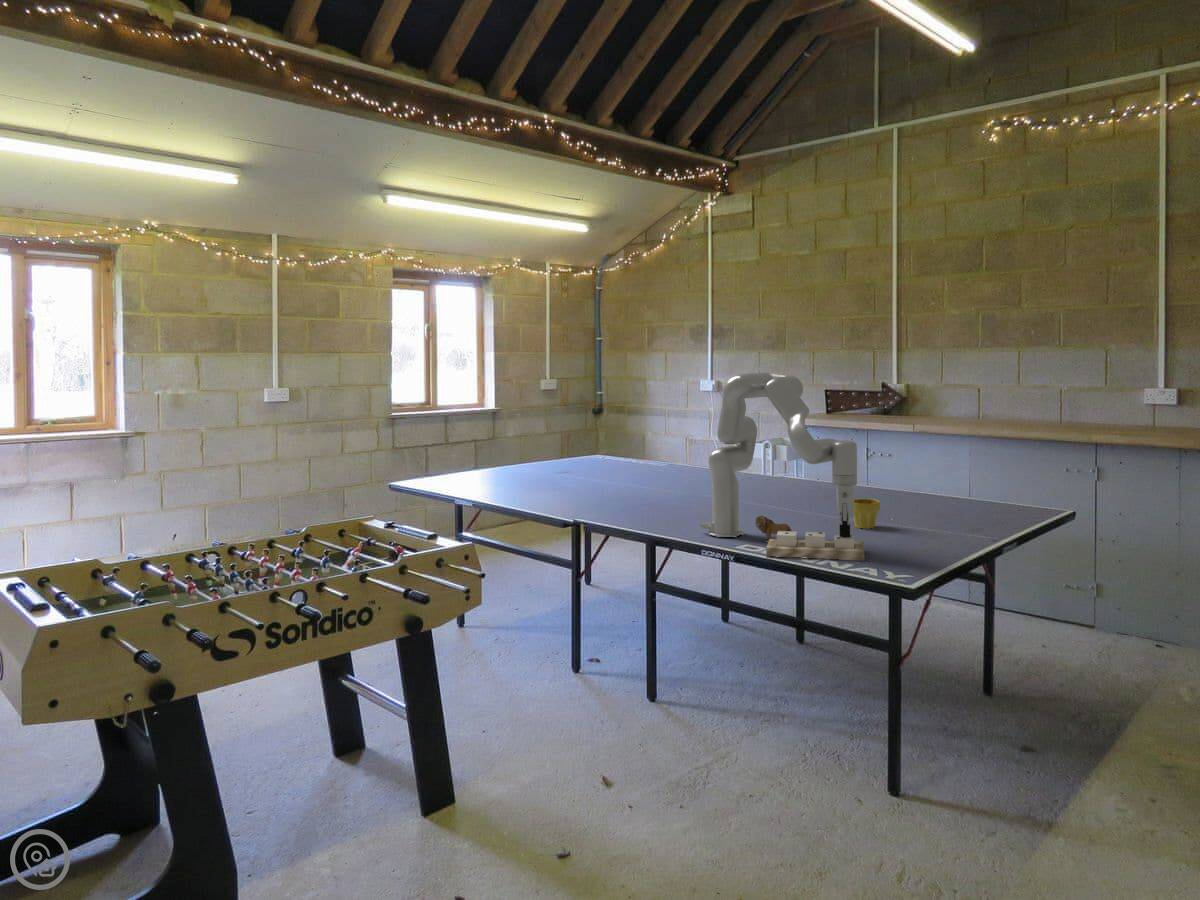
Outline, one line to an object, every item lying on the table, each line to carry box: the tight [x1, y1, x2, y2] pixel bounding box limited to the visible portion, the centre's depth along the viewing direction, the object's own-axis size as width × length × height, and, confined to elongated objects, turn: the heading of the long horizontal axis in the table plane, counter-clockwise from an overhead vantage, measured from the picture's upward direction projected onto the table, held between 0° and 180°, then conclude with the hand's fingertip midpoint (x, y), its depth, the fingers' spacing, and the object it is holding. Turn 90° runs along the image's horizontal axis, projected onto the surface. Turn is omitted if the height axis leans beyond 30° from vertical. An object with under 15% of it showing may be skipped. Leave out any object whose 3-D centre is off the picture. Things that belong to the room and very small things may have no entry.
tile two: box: [804, 531, 826, 548], centre depth 278 cm, size 6×6×4 cm
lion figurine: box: [754, 515, 793, 541], centre depth 296 cm, size 15×5×9 cm, turn 65°
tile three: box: [833, 534, 855, 549], centre depth 276 cm, size 6×6×4 cm
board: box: [765, 538, 865, 562], centre depth 279 cm, size 30×13×3 cm, turn 74°
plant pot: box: [852, 498, 881, 530], centre depth 315 cm, size 10×10×10 cm
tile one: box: [776, 530, 798, 547], centre depth 281 cm, size 6×6×4 cm
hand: (844, 536), depth 275 cm, fingers closed
